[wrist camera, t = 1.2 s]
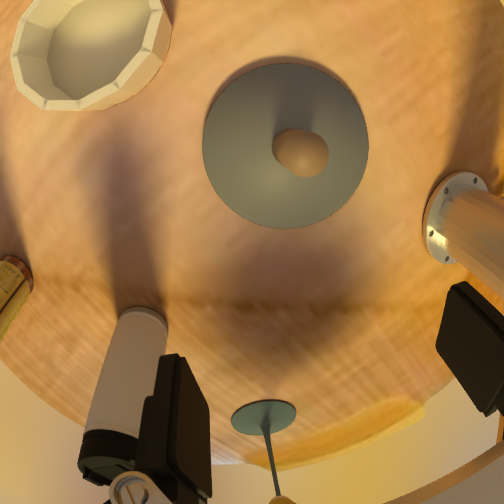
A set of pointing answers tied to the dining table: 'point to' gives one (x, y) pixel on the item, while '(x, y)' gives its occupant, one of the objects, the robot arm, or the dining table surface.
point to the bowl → (88, 51)
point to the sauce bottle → (12, 290)
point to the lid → (285, 146)
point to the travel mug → (122, 395)
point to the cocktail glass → (266, 429)
